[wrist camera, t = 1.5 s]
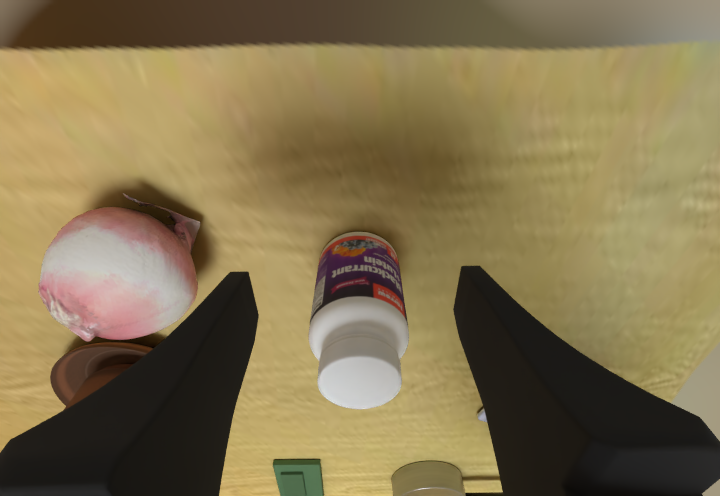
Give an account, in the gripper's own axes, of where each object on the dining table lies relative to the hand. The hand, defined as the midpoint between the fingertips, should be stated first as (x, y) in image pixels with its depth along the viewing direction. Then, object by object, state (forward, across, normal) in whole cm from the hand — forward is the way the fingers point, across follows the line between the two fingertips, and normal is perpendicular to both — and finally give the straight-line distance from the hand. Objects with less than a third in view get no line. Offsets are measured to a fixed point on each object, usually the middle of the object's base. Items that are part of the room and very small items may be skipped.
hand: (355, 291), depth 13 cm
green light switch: (+10, +7, +38) cm, 40 cm away
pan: (+10, -11, +38) cm, 41 cm away
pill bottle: (+11, 0, +7) cm, 13 cm away
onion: (+11, +13, +5) cm, 18 cm away
